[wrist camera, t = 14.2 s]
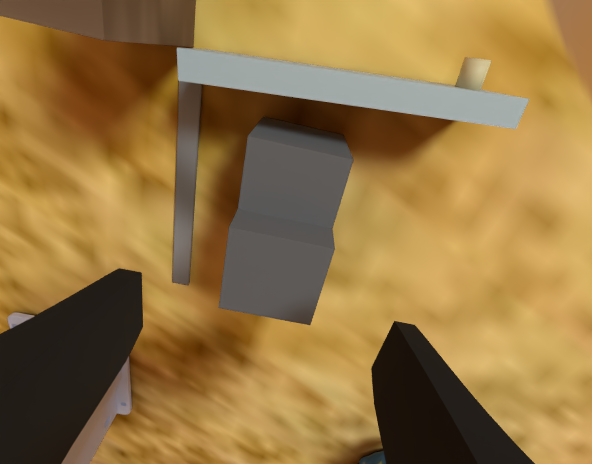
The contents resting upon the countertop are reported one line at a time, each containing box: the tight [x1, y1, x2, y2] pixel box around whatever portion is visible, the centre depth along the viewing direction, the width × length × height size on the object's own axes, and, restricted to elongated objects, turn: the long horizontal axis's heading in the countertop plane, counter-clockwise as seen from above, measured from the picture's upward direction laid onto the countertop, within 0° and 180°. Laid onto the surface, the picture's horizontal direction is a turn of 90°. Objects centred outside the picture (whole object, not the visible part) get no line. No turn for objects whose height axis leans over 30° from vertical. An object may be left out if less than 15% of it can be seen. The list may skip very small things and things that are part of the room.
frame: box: [0, 0, 202, 285], centre depth 12 cm, size 21×4×7 cm, turn 168°
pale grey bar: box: [177, 48, 529, 129], centre depth 12 cm, size 12×2×4 cm, turn 83°
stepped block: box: [219, 117, 353, 325], centre depth 15 cm, size 7×4×6 cm, turn 168°
